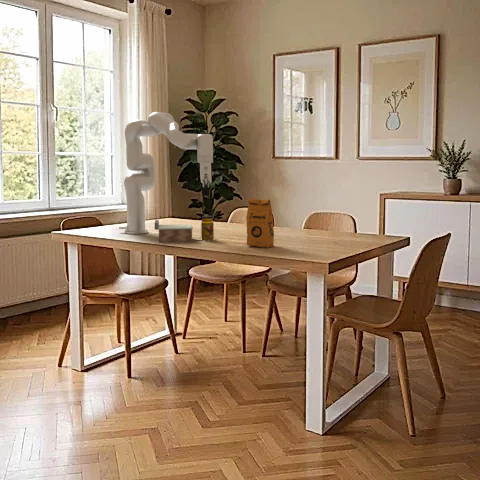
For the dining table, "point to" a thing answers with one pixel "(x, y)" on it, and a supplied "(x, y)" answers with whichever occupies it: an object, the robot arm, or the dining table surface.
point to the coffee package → (260, 224)
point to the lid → (171, 226)
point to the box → (175, 235)
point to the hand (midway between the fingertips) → (205, 195)
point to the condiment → (207, 228)
